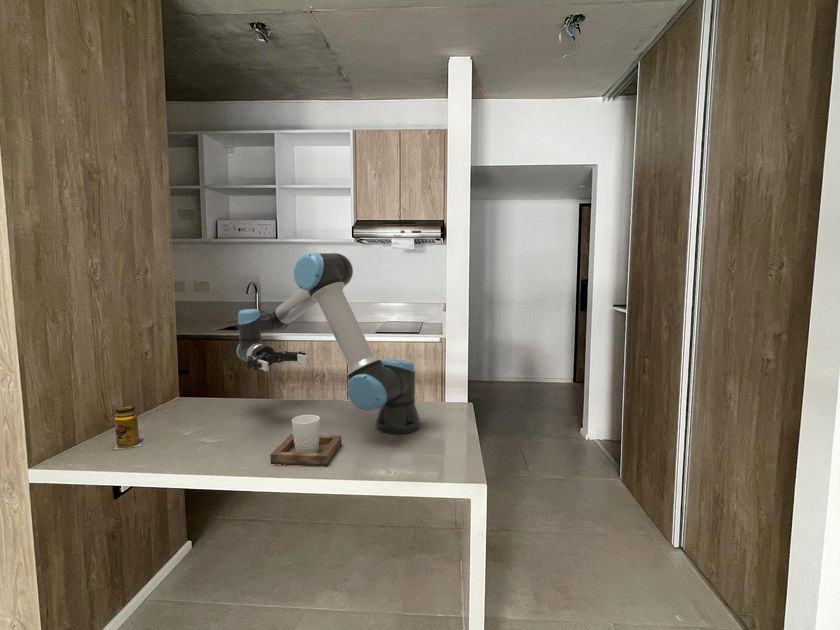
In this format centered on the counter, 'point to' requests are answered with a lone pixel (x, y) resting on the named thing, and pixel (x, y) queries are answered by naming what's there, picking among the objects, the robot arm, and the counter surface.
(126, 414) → the condiment
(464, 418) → the counter surface
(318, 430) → the white cup
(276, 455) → the wooden tray
